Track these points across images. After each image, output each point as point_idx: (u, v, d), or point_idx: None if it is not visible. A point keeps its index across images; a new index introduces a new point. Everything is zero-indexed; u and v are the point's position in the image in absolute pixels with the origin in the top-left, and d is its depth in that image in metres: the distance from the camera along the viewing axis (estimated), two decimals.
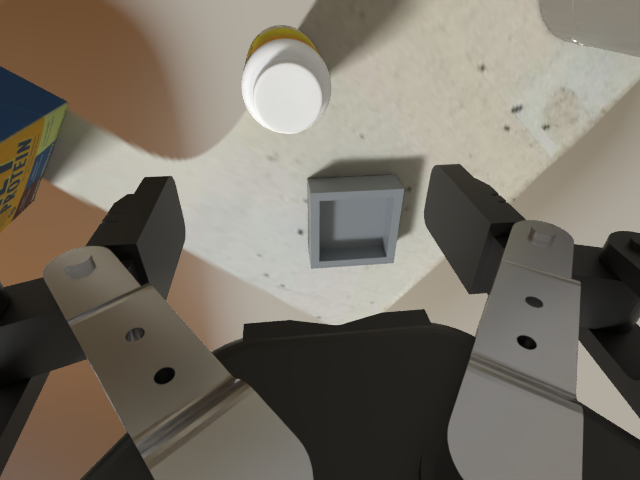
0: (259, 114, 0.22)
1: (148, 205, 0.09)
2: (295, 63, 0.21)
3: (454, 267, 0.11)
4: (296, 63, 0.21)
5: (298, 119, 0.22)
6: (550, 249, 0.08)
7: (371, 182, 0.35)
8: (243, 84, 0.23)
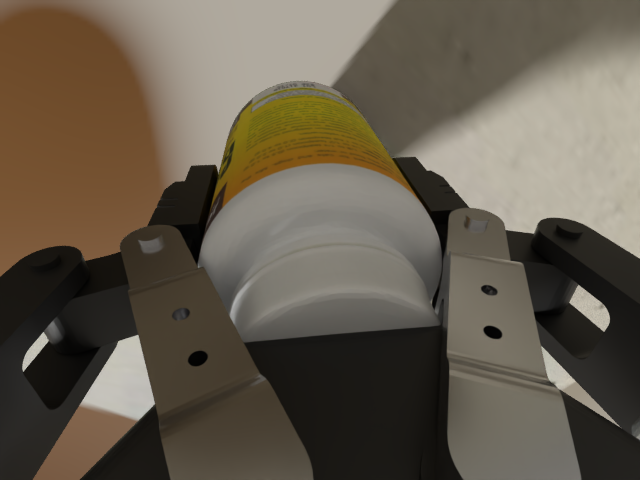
0: None
1: (201, 190, 0.10)
2: (371, 286, 0.06)
3: None
4: (374, 285, 0.06)
5: None
6: (480, 234, 0.08)
7: None
8: None
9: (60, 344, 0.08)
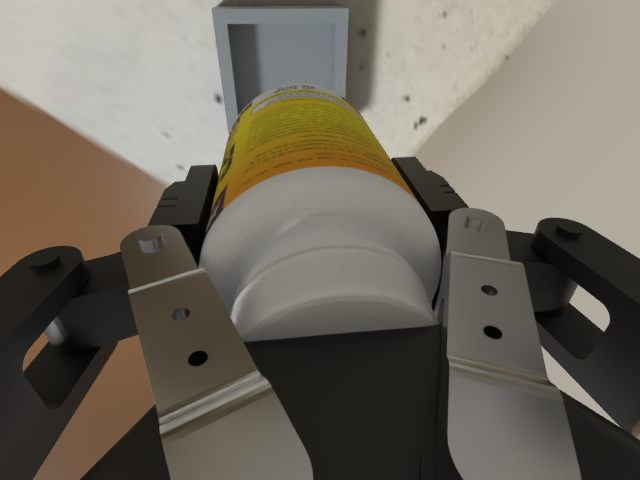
0: None
1: (201, 190, 0.10)
2: (371, 289, 0.06)
3: None
4: (373, 287, 0.06)
5: None
6: (480, 234, 0.08)
7: (304, 6, 0.25)
8: None
9: (60, 344, 0.08)
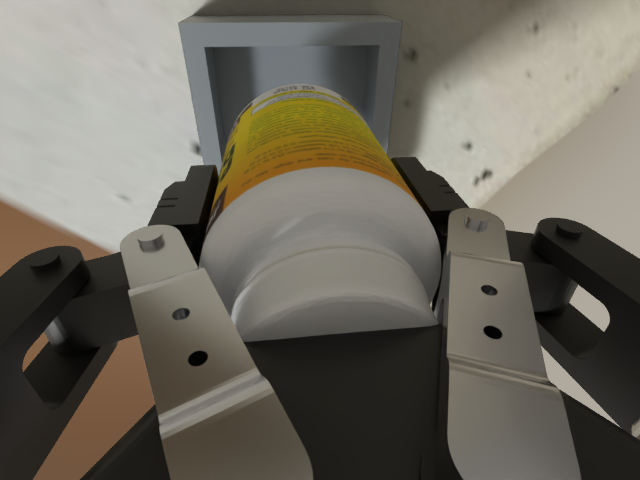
0: None
1: (201, 190, 0.10)
2: (370, 290, 0.06)
3: None
4: (373, 288, 0.06)
5: None
6: (480, 234, 0.08)
7: (329, 18, 0.16)
8: None
9: (60, 344, 0.08)
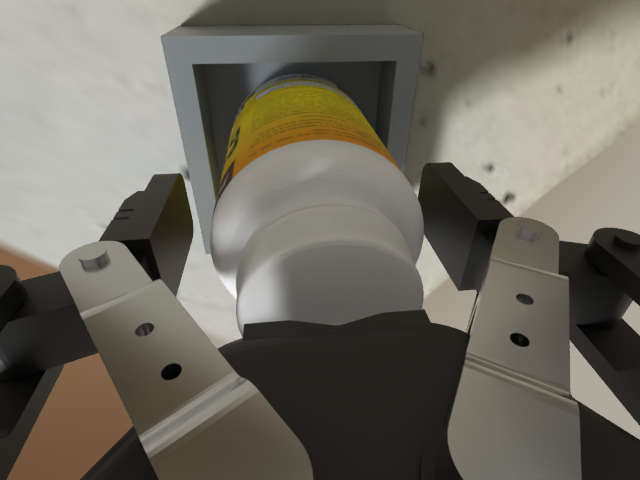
0: None
1: (159, 202, 0.10)
2: (358, 236, 0.07)
3: (444, 264, 0.11)
4: (361, 235, 0.07)
5: None
6: (535, 245, 0.08)
7: (337, 29, 0.14)
8: (213, 247, 0.09)
9: (0, 370, 0.07)
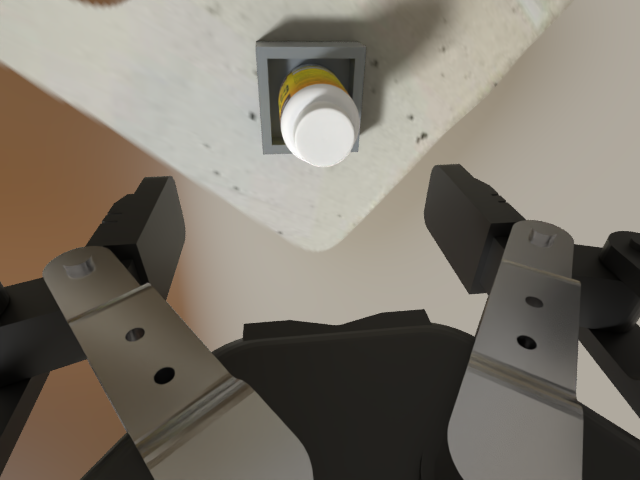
0: (298, 150, 0.25)
1: (148, 205, 0.09)
2: (332, 108, 0.23)
3: (454, 267, 0.11)
4: (333, 108, 0.24)
5: (332, 154, 0.25)
6: (550, 249, 0.08)
7: (329, 44, 0.30)
8: (283, 122, 0.26)
9: None
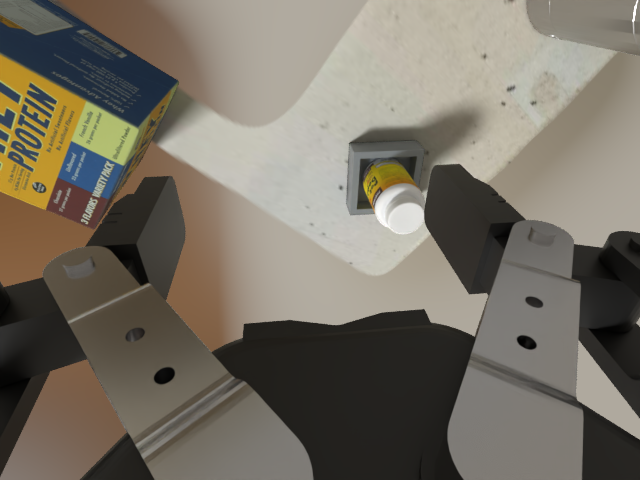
0: (390, 226, 0.40)
1: (148, 205, 0.09)
2: (413, 202, 0.39)
3: (454, 267, 0.11)
4: (413, 202, 0.39)
5: (409, 227, 0.40)
6: (550, 249, 0.08)
7: (399, 145, 0.45)
8: (377, 206, 0.41)
9: None
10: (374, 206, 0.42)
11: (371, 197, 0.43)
